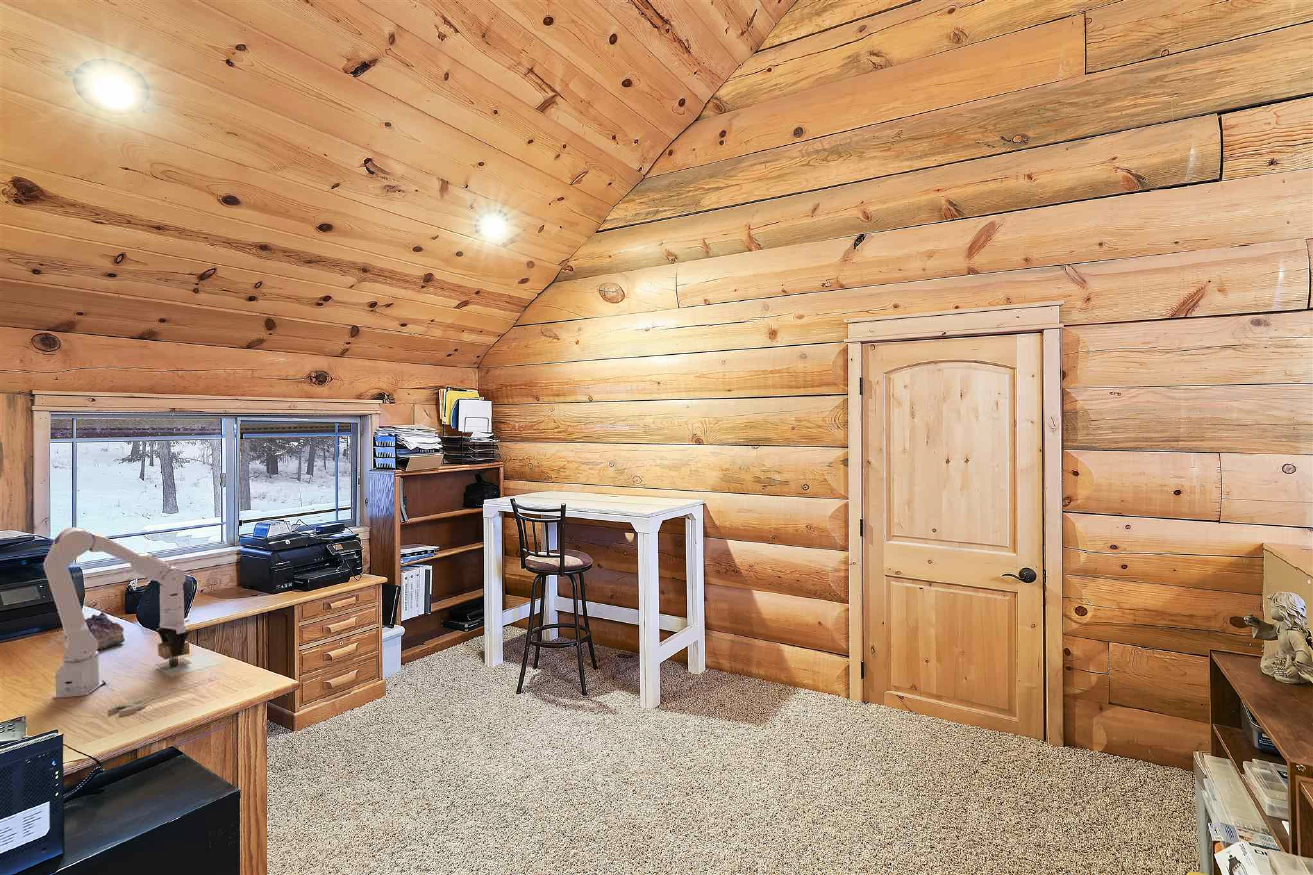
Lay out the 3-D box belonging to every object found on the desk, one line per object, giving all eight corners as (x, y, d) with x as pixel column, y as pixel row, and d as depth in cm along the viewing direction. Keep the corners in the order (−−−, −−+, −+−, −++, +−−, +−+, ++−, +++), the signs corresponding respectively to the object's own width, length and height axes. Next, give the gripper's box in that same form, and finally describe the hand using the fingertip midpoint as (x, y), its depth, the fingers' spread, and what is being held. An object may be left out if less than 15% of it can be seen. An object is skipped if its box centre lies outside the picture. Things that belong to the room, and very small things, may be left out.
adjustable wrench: (217, 681, 185) (217, 674, 185) (227, 686, 181) (227, 680, 181) (106, 713, 164) (106, 706, 164) (115, 720, 161) (114, 713, 161)
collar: (189, 653, 194) (189, 642, 194) (165, 659, 190) (164, 647, 189) (182, 649, 198) (181, 638, 198) (158, 655, 193) (157, 643, 193)
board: (219, 667, 194) (219, 664, 194) (170, 680, 184) (170, 677, 184) (201, 657, 202) (201, 654, 202) (154, 669, 192) (153, 665, 192)
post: (191, 663, 194) (191, 646, 194) (163, 670, 189) (163, 653, 189) (183, 658, 199) (182, 641, 198) (155, 665, 193) (154, 648, 193)
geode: (64, 643, 216) (68, 613, 217) (109, 639, 225) (112, 609, 226) (79, 654, 203) (84, 621, 204) (126, 649, 212) (130, 617, 213)
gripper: (197, 608, 192) (198, 653, 192) (179, 600, 201) (180, 643, 201) (168, 614, 186) (169, 661, 187) (151, 605, 195) (152, 650, 196)
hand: (173, 652), depth 194 cm, fingers closed on collar, 6 cm apart
